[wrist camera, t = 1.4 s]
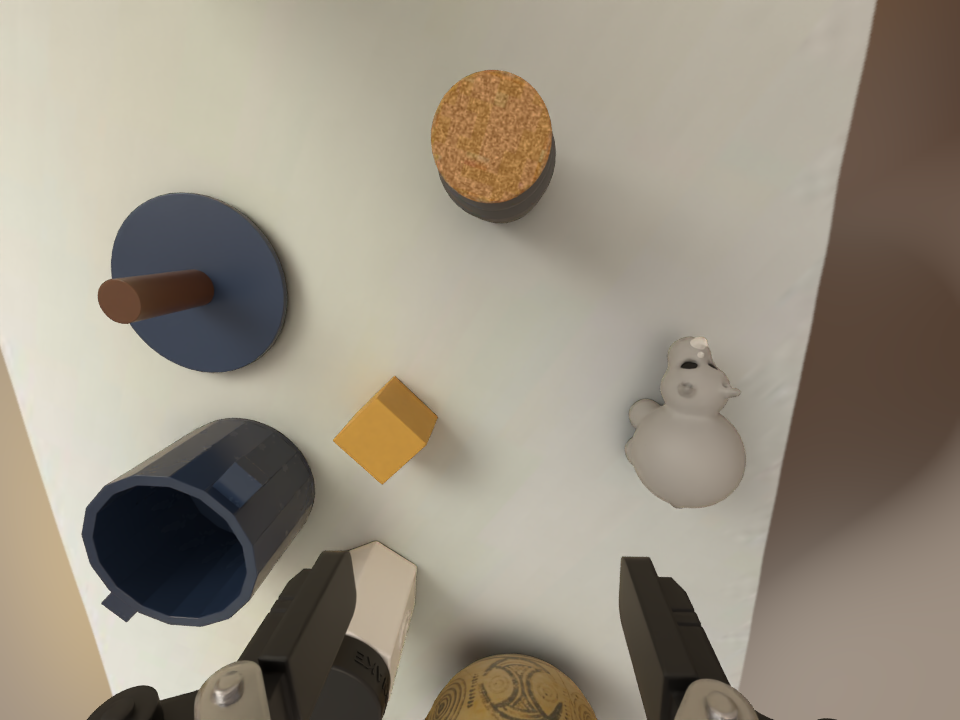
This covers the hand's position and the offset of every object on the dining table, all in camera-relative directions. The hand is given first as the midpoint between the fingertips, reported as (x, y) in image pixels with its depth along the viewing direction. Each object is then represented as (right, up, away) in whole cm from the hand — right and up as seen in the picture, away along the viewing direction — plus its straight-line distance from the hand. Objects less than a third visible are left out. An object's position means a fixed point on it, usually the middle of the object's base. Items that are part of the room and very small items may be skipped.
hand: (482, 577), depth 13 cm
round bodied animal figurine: (+15, +3, +22) cm, 27 cm away
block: (-7, +2, +24) cm, 25 cm away
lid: (-22, +12, +22) cm, 33 cm away
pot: (-21, -5, +27) cm, 35 cm away
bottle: (+1, +19, +19) cm, 27 cm away
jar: (-10, -14, +29) cm, 34 cm away
